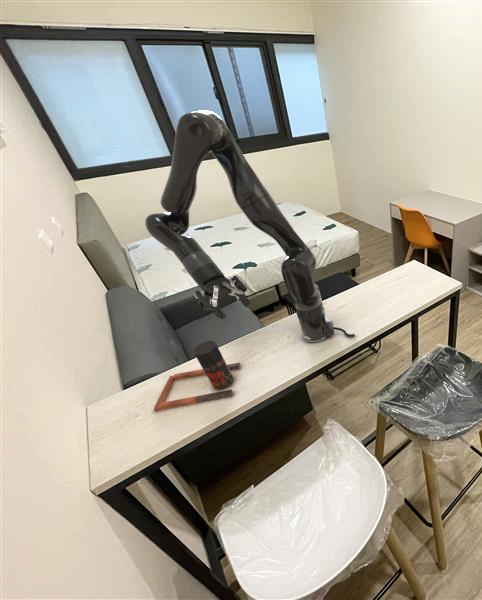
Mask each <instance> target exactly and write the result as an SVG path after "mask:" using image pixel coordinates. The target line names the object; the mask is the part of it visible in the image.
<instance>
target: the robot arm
mask: <svg viewBox="0 0 482 600" xmlns="http://www.w3.org/2000/svg"><path fill="white" fill-rule="evenodd" d="M210 153H211V154H212V156H213V157H214V159H216V161H217V162H218V163H219V165H220V167H221V168H222V169H223V171H224V173H225V175H226V177H227V180H228V183H229V187H230V190H231V193H232V196H233V198H234V200H235V203H236V205H237V206H238V208H239V209H240V210H241V212H242V213H243V214H244V216H245V217H246V219H247V220H248V221H249V223H250V224H251V225H253V226H254V227H255V228H256V229H258V230H259V231H261V232H262V233H265V234H266V235H267V236H269V237H270V238H272V239H273V240H274V241H275V242H276V243H277V244H278V245H279V247H280V248H281V250H282V251H283V253H284V254H285V256H286V257H284V260H283V261H282V263H281V265H280V271H281V276H282V279H283V282H284V285H285V287H286V290H287V293H288V294H289V295H290V296H291V298H292V302H293V305H294V309H295V312H296V316H297V319H298V323H299V326H300V329H301V333H302V337H303V340H304V341H305V342H307V343H313V344H314V343H320V342H322V341H324V340H325V339H328V338H330V336H335V331H340V332H341V333H343V335H345V336H346V337H348V338H352V337H353V338H354V337H355V333H351V334H350V333H347V331H346V330H345V329H343V328H341V327H336V326H334V323H333V320H331V321H328V318H327V314H326V309H325V306H324V305H323V304H324V303H323V300H322V294H321V291H320V287H319V285H318V284H317V283H315V282H314V281H313V277H312V276H313V275H312V274H313V273H314V271H315V269H316V267H317V259H316V256H315V254H314V252H313V251H312V250H311V248H310V247H308V245H307V244H306V242H304V241H303V239H302V238H301V237H300V236H299V234H298V233H297V232H296V231H295V230H294V228H293V226H292V225H291V224H290V222H289V220H288V219H287V217H286V216H285V215H284V214H283V212H282V211H281V209H280V208H279V206H278V204H277V202H276V201H275V200H274V198H273V196H272V195H271V194H270V192H269V191H268V189H267V188H266V186H265V185H264V184H263V182H262V181H261V179H260V178H259V177H258V174H257V173H256V171H254V169H253V167H252V166H251V165H250V164H249V162H248V161H247V159H246V157H245V156H244V154H243V152H242V150H241V149H240V147H239V145H238V143H237V141H236V140H235V138H234V136H233V134H232V133H231V130H230V128H229V127H228V126H227V124H226V122H225V121H224V120H223V119H222V117H220V116H219V115H218V114H217V113H215V112H213V111H210V110H198V111H189V112H186V113H183V114H182V115H181V116H180V117H179V118H178V119H177V124H176V129H175V137H174V147H173V153H172V158H171V159H172V160H171V165H170V170H169V174H168V178H167V180H166V183H165V186H164V189H163V192H162V194H161V198H160V206H161V207H162V209H163V210H164V211H166V212H156V213H151V214H148V215H147V216H146V217H145V221H144V223H145V229H146V230H147V232H148V233H149V235H150V236H151V237H152V238H153V239H155V240H156V241H157V242H159V244H161V245H162V246H163V247H165V248H166V249H168V250H169V251H171V252H172V253H173V254H174V256H175V257H176V258H177V259H178V261H179V262H180V263H181V264H182V266H183V268H184V269H185V271H186V272H187V274H188V275H189V276H190V277H191V278H192V280H193V281H194V282H195V283H196V285H197V286H198V287H199V288H200V289H201V290H195V291H194V293H193V296H192V297H193V298H194V300H195V301H196V303H197V304H198V305H199V307H200V308H201V310H203V312H207V311H211V312H212V313H214V315H215V316H216V317H217V319H220V320H225V319H226V318H227V315H226V313H225V312H224V310H223V309H222V308H221V307H220V306H219V305H218V300H220V299H221V298H223V297H227V296H233V297H237V298H238V300H239V301H240V303H241V304H242V305H243V307H244V308H248V307H249V306H250V304H251V301H250V300H249V299H248V297H247V296H246V294H245V293H246V292H247V291H248V287H247V286H246V285H245V283H243V281H241V279H240V278H239V277H238V276H237V275H233V276H232V277H231V278H229V279H228V278H226V277H225V274H224V273H223V271H222V270H221V268H219V266H218V265H217V264H216V262H215V261H214V259H212V257H211V256H210V255H209V254H208V253H207V252H206V251H205V250H204V249H203V247H202V246H201V245H200V243H199V242H198V241H197V240H196V239H195V238H194V237H192V236H187V235H184V234H186V233H187V232H188V230H189V228H190V209H191V207H192V205H193V202H194V200H195V198H196V195H197V189H198V171H199V168H200V166H201V164H202V162H203V161H204V159H205V157H206V156H207V155H208V154H210ZM205 296H208V297H209V302H208V300H207V299H206V298H205Z"/></svg>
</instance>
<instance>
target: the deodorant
mask: <svg viewBox="0 0 482 600" xmlns="http://www.w3.org/2000/svg"><path fill="white" fill-rule="evenodd" d="M193 354H194V356H195V358H196V359H197V361H198V363H199V365H200V366H201V368H202V369H203V370H204V372H205V373H206V375H205V376H206V377H207V379H208V381H209V382H210V385H212V387H213V389H214V390H216V391H222V390H223V391H224V390H226V389H227V388H230V386H232V384H233V383H234V379H235V378H234V376H233V374H232V372H231V370H229V368H228V366H227V365H228V364H227V362H226V360H225V359H224V356H223V355H222V352H221V350H220V349H219V347H218V344H217V343H216V341H214V340H206V341H203V342H201V343H199V344H197V346H195V348H194V349H193Z"/></svg>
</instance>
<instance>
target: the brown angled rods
mask: <svg viewBox="0 0 482 600" xmlns="http://www.w3.org/2000/svg"><path fill="white" fill-rule="evenodd" d="M227 366H228V368H229V370H230V371H236V370H240V369H241V366H242V365H241V363H240V362H235V363H228V364H227ZM202 376H203V377H204V376H207V375H206V373H205V372H204V370H203V368H202V369H196V370H191V371H189V370H188V371H185V372H179V373H178V372H177V373H174V374H173V375H169V377H168V379H167V381H166V383H165V386H164V387H163V390H162V391H161V393H160V395H159V397H158V399H157V401H156V403H155V406H154V408H153V410H154V412H159V411H163V410H164V411H165V410H169V409H174V408H178V407H185V406H188V405H194V404H199V403H205V402H210V401H214V400H219V399H220V400H221V399H226V398H230V397H233V396H234V390H233V389H232V388H231V389H227V390H226V389H225V390H223V391H222V390H219V391H216V392H215V391H214V392H210V393H205V394H200V395H194V396H190V397H184V398H179V399H174V400H168V401H166V399H167V398H168V396H169V393H170V392H171V389H172V388H173V385H174V383H175V381H181V380H186V379H192V378H197V377H202Z"/></svg>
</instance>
